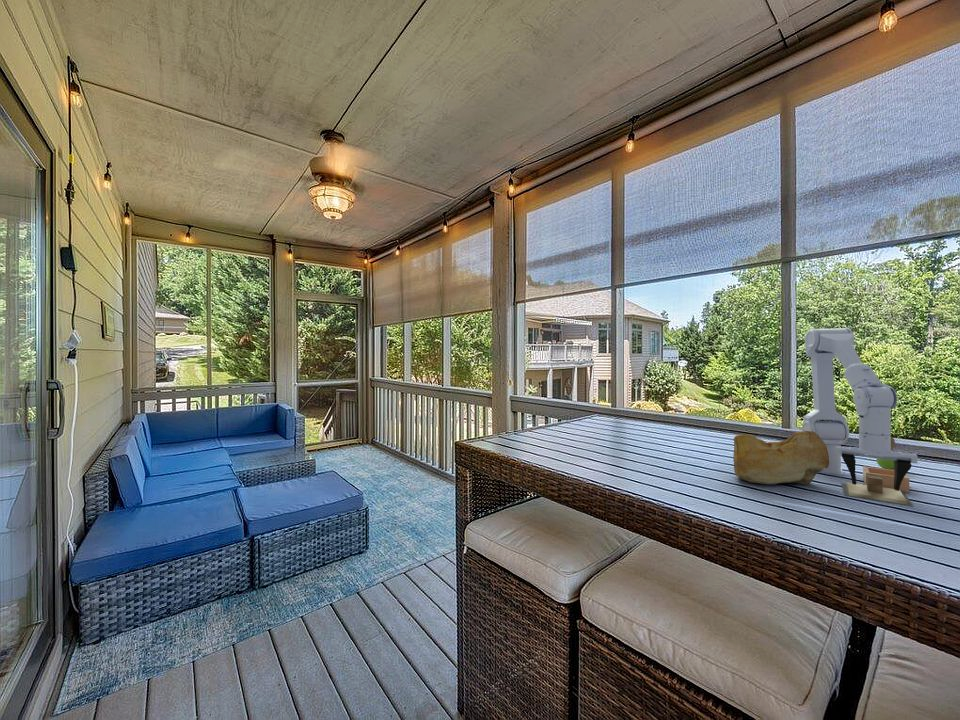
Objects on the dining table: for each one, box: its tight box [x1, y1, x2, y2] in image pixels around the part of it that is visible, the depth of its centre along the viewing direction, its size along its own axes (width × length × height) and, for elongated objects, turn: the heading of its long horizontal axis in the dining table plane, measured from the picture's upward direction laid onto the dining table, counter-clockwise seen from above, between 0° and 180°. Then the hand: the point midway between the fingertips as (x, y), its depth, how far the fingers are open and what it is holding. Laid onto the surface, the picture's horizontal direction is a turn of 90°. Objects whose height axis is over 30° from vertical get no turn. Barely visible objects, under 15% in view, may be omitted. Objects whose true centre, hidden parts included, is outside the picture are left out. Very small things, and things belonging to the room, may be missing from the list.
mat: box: [840, 483, 915, 508], centre depth 100 cm, size 12×12×1 cm
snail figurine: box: [875, 436, 896, 470], centre depth 122 cm, size 5×6×12 cm
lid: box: [845, 475, 907, 504], centre depth 100 cm, size 10×10×4 cm
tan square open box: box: [862, 465, 910, 493], centre depth 107 cm, size 8×8×4 cm
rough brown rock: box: [732, 430, 829, 485], centre depth 115 cm, size 23×16×15 cm
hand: (874, 486), depth 100 cm, fingers open, 7 cm apart
